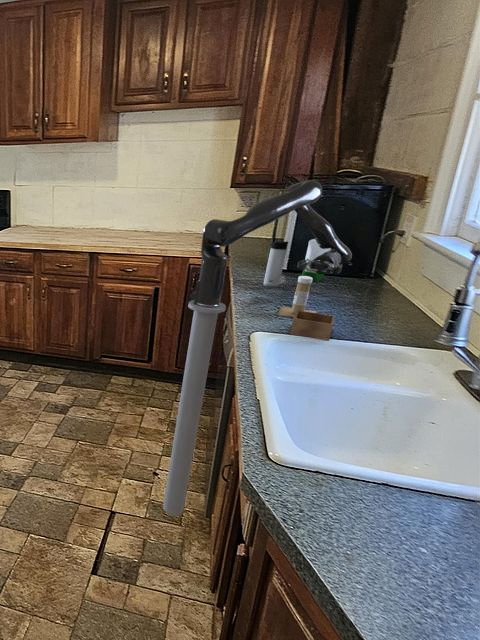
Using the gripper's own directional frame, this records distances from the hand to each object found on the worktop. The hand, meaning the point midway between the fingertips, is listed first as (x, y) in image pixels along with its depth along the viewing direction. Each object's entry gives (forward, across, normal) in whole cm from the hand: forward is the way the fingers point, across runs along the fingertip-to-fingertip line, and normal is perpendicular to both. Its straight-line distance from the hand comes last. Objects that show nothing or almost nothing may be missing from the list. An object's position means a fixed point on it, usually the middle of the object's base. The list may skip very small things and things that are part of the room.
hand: (314, 269), depth 197 cm
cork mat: (+10, 0, +15) cm, 18 cm away
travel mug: (-27, -21, +15) cm, 37 cm away
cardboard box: (+30, +10, +15) cm, 35 cm away
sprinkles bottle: (+10, 0, +15) cm, 18 cm away
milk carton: (-54, -11, +15) cm, 57 cm away
